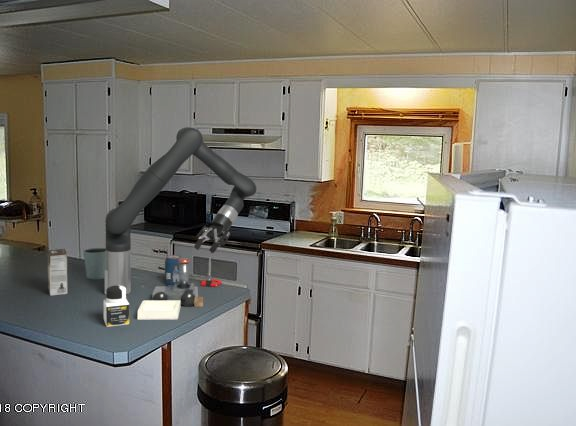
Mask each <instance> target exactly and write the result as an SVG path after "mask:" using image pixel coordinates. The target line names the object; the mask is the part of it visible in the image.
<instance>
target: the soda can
mask: <svg viewBox="0 0 576 426" xmlns="http://www.w3.org/2000/svg"><path fill="white" fill-rule="evenodd" d="M165 258H166V259H165V260H164V282H165V284H166V286H174V284H175V283H179V262H178V259H180V258H181V256H180V255H177V254H171V255H170V254H169V255H167V256H166V257H165Z"/></svg>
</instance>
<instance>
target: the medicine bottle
mask: <svg viewBox="0 0 576 426" xmlns="http://www.w3.org/2000/svg"><path fill="white" fill-rule="evenodd" d="M105 295H106V299H103V320H104V324H105V326H106V328H109V327H117V326H126V325H129V324H130V302H129V301H128V299H127V294H126V288H125V287H123V286H118V285H117V286H111V287H109V288H107V289H106V294H105Z"/></svg>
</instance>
